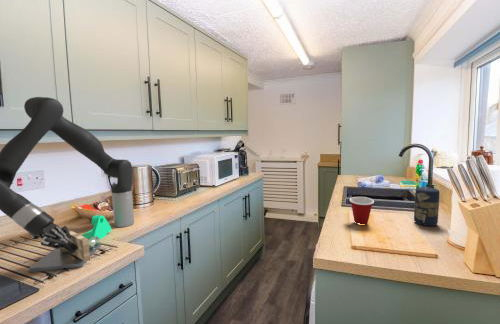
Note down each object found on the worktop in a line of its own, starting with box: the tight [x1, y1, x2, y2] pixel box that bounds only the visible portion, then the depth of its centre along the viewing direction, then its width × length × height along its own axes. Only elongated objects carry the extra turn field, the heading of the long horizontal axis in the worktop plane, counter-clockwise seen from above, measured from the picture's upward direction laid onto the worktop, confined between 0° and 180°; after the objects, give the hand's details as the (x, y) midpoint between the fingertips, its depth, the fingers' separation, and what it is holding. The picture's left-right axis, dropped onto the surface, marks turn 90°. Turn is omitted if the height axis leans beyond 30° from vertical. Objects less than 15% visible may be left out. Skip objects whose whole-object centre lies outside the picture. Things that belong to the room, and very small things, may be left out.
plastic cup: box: [349, 196, 375, 225], centre depth 128 cm, size 11×11×12 cm
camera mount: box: [80, 214, 112, 240], centre depth 119 cm, size 12×8×10 cm, turn 174°
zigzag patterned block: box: [60, 230, 91, 262], centre depth 98 cm, size 20×5×8 cm, turn 54°
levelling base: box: [28, 236, 102, 273], centre depth 100 cm, size 18×16×4 cm
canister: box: [413, 186, 440, 227], centre depth 125 cm, size 10×10×18 cm
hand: (75, 250), depth 94 cm, fingers closed
